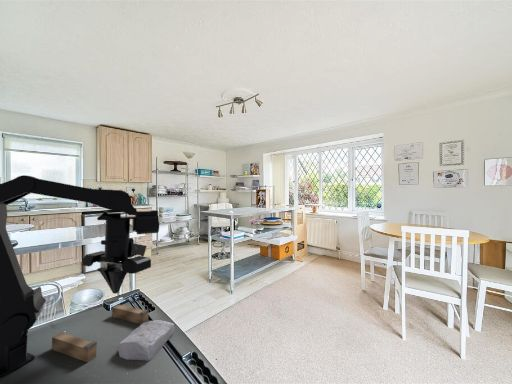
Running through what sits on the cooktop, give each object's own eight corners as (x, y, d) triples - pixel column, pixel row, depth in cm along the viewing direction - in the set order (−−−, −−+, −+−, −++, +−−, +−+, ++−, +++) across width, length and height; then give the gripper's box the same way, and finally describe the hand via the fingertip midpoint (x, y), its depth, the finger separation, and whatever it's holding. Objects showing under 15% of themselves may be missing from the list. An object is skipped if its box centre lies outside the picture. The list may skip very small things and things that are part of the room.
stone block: (113, 366, 53) (152, 363, 51) (111, 345, 53) (149, 341, 52) (145, 336, 64) (177, 333, 63) (143, 319, 65) (175, 316, 63)
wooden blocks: (51, 349, 55) (52, 335, 55) (117, 313, 72) (118, 302, 72) (87, 362, 51) (87, 347, 51) (148, 321, 68) (148, 310, 68)
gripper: (165, 233, 66) (164, 286, 65) (118, 229, 72) (117, 278, 71) (134, 240, 55) (132, 303, 55) (82, 235, 61) (80, 292, 61)
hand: (115, 292), depth 61 cm, fingers closed
